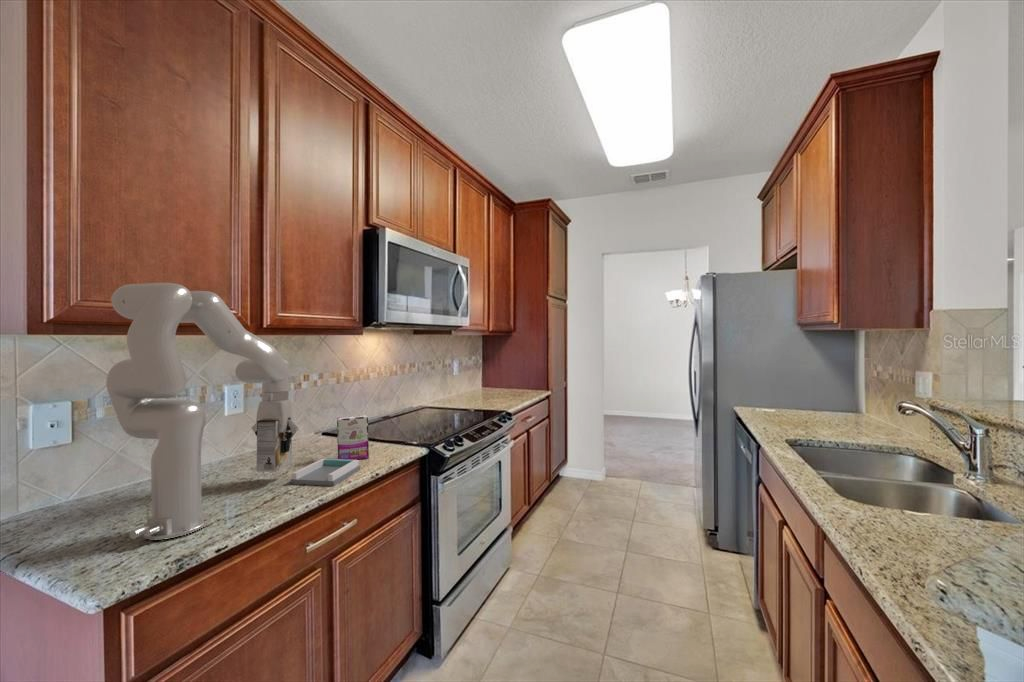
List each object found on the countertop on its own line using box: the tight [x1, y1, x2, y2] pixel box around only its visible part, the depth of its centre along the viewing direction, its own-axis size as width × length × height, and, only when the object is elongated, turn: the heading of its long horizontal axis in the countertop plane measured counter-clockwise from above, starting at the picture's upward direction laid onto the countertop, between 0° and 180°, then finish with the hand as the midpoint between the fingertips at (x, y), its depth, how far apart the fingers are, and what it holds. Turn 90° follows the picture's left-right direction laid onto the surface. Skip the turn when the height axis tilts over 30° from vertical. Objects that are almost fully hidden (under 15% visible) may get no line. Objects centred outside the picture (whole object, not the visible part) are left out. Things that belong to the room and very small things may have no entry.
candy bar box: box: [336, 414, 370, 460], centre depth 157 cm, size 11×5×16 cm, turn 115°
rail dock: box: [290, 458, 361, 487], centre depth 137 cm, size 16×15×4 cm
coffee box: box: [256, 420, 293, 473], centre depth 133 cm, size 9×6×16 cm
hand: (274, 451), depth 133 cm, fingers closed on coffee box, 6 cm apart
